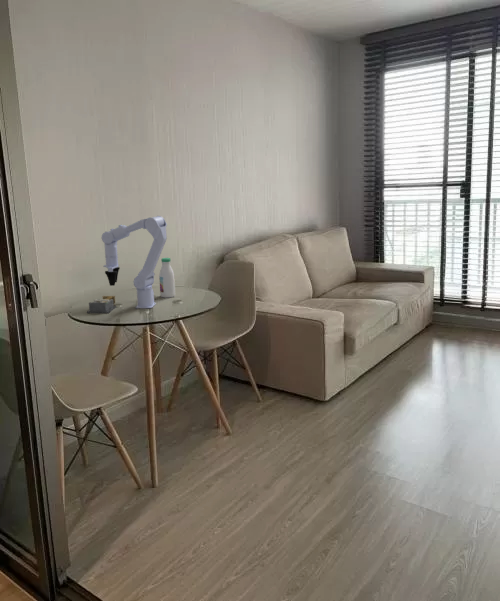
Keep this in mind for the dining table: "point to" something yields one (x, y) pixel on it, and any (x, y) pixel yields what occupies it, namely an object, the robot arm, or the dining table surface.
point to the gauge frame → (101, 306)
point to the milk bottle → (166, 279)
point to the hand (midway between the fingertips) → (113, 283)
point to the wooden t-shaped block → (109, 298)
